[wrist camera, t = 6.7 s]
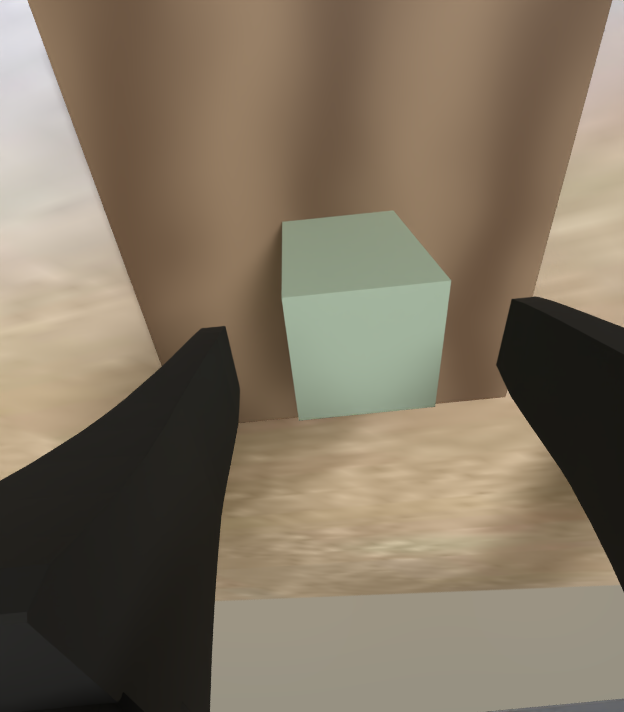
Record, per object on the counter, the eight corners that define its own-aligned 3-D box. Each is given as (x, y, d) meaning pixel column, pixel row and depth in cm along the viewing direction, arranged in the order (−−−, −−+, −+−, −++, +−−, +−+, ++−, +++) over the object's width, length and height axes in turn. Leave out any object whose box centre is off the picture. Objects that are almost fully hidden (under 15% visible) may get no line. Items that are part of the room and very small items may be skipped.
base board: (581, -40, 12) (627, -57, 11) (488, 372, 21) (505, 396, 20) (61, 9, 12) (27, -1, 11) (192, 401, 21) (185, 428, 20)
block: (393, 210, 14) (451, 280, 9) (389, 308, 17) (435, 406, 12) (282, 221, 14) (281, 298, 9) (294, 318, 17) (299, 420, 12)
